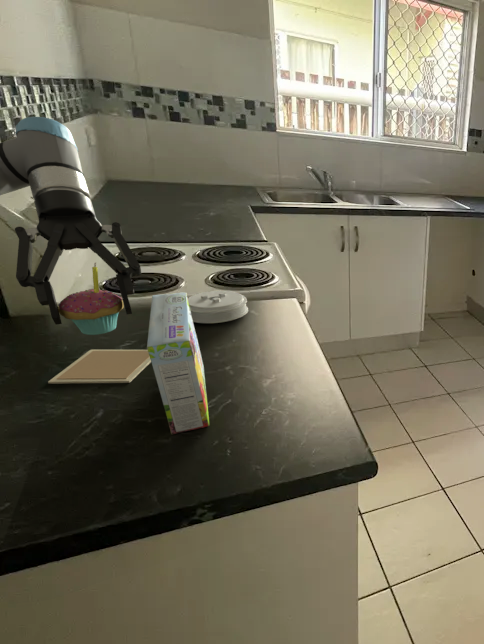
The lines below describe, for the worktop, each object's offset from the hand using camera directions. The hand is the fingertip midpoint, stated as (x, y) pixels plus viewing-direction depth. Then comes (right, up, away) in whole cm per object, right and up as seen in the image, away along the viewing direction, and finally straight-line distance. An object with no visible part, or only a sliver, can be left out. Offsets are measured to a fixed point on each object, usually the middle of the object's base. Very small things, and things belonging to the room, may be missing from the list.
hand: (94, 315), depth 79 cm
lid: (+2, +1, +30) cm, 30 cm away
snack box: (+15, -14, +1) cm, 21 cm away
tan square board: (-3, -9, +7) cm, 12 cm away
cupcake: (-3, -3, +4) cm, 5 cm away
